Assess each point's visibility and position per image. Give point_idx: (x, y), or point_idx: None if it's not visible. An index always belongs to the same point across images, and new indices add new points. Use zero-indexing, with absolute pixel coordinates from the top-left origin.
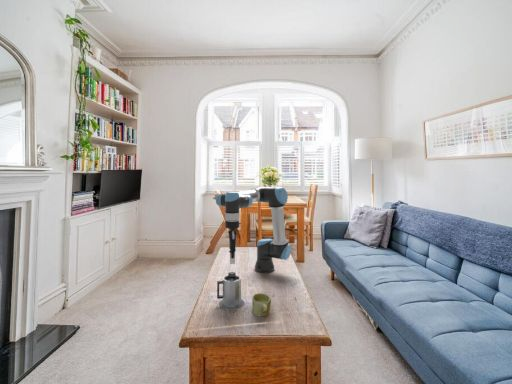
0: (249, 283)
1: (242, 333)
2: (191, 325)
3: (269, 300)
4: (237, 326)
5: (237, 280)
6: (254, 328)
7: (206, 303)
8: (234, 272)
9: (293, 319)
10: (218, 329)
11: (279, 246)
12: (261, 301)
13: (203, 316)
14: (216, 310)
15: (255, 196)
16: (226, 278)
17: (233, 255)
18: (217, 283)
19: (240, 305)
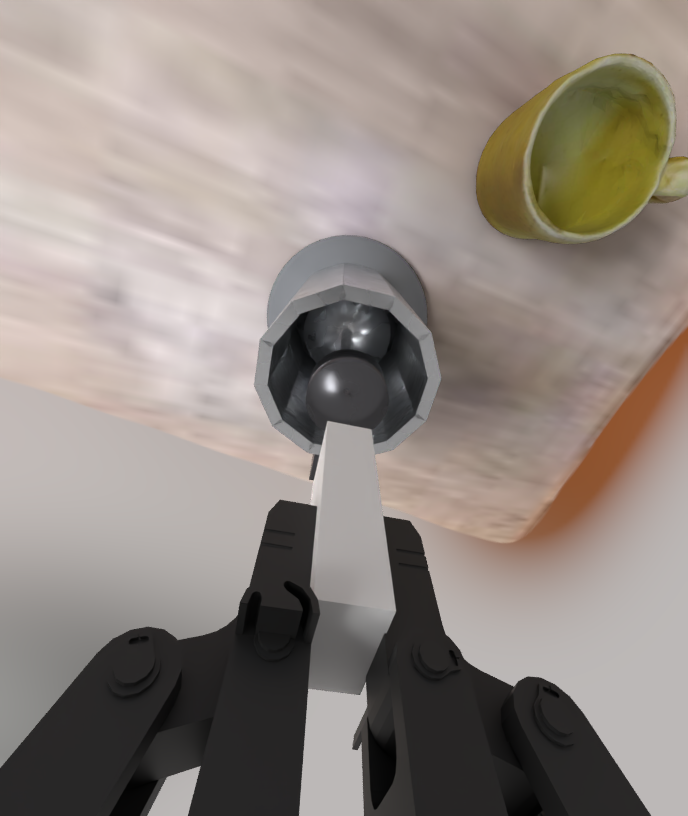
0: (12, 29)
1: (637, 362)
2: (450, 525)
3: (672, 94)
4: (572, 365)
5: (430, 351)
6: (645, 291)
7: (286, 442)
8: (328, 366)
9: None
10: (540, 445)
11: None
12: (557, 151)
13: (406, 477)
14: None
15: None
16: (282, 403)
17: (423, 580)
18: None
19: (397, 280)
